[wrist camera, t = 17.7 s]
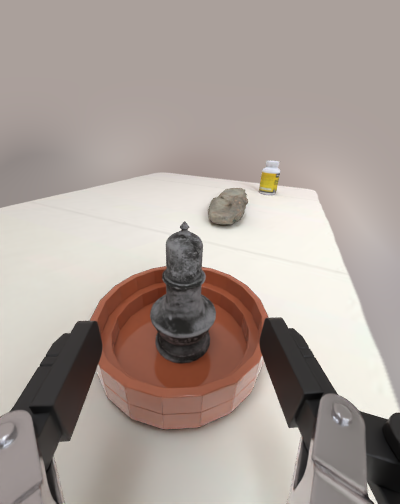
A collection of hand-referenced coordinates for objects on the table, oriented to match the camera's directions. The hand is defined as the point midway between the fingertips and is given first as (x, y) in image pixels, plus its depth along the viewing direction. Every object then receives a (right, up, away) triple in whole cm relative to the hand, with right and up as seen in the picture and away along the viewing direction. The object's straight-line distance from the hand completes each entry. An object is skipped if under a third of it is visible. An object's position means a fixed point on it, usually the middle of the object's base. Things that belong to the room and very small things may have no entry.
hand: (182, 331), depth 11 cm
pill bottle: (+27, +27, +75) cm, 84 cm away
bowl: (-1, -5, +11) cm, 12 cm away
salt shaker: (-1, -5, +11) cm, 12 cm away
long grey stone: (+10, +17, +54) cm, 57 cm away
